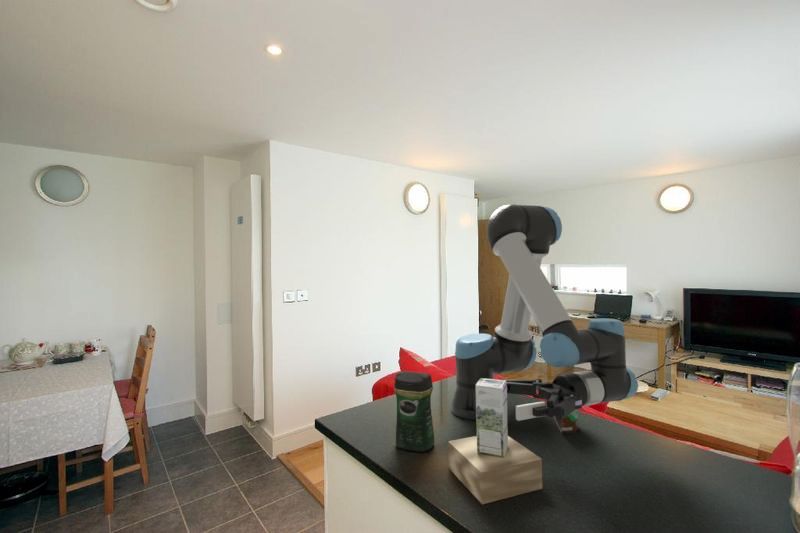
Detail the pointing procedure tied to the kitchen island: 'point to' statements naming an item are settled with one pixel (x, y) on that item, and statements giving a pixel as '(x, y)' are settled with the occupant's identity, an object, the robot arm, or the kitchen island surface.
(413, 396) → the coffee jar
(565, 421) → the food container
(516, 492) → the oak plinth
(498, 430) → the syrup box
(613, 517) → the kitchen island surface
